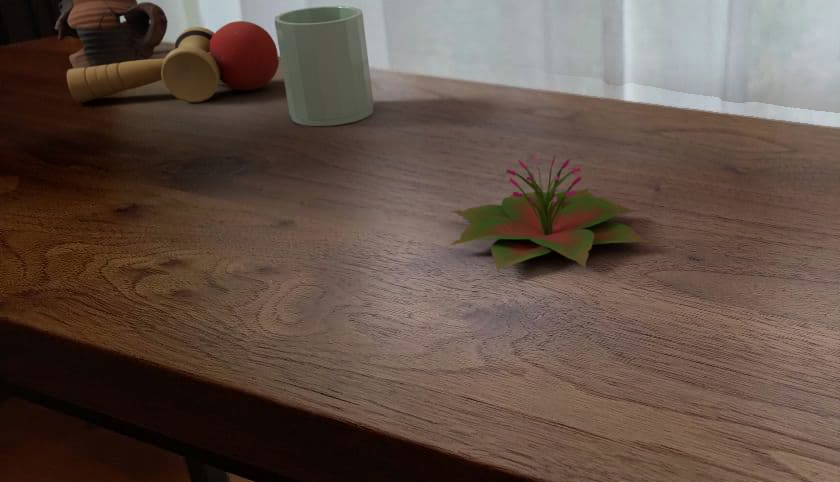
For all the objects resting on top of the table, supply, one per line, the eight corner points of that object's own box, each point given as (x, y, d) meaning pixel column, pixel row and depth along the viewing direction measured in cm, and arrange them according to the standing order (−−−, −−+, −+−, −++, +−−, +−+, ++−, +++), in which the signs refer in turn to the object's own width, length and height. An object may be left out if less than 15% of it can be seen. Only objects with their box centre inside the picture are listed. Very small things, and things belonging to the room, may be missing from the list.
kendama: (72, 131, 85) (279, 85, 86) (45, 57, 83) (258, 11, 84) (100, 121, 92) (291, 79, 93) (76, 52, 90) (271, 10, 91)
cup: (310, 131, 78) (294, 28, 74) (278, 113, 83) (261, 15, 79) (388, 114, 81) (376, 14, 78) (352, 97, 86) (339, 2, 83)
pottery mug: (44, 85, 96) (27, 2, 97) (108, 102, 106) (92, 26, 106) (151, 51, 94) (133, -34, 94) (207, 71, 103) (190, -6, 103)
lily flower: (601, 186, 65) (600, 118, 63) (686, 257, 55) (688, 178, 53) (422, 217, 61) (414, 146, 59) (478, 298, 51) (471, 216, 49)
